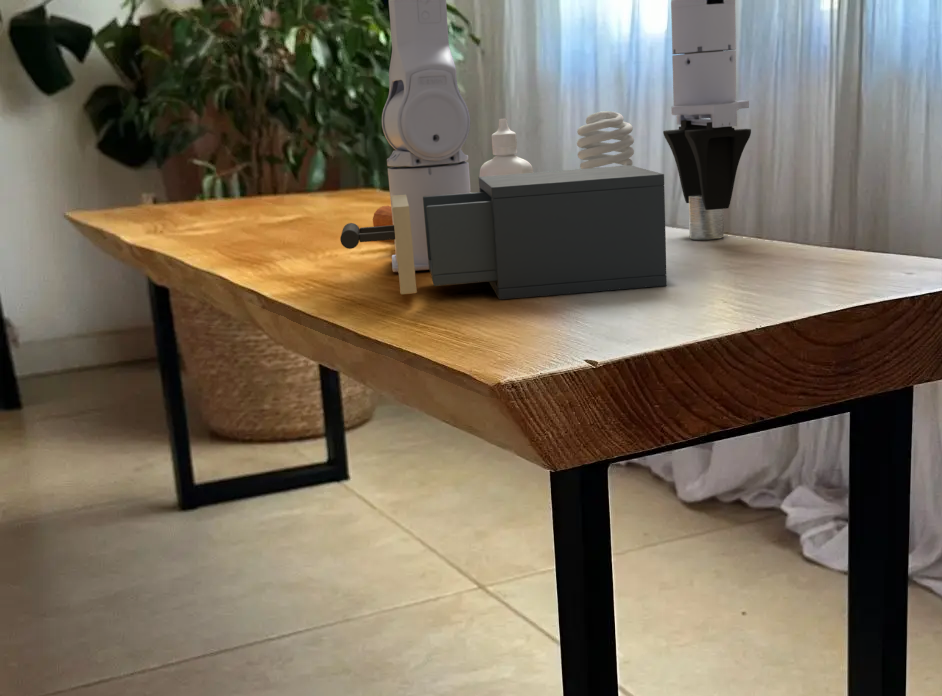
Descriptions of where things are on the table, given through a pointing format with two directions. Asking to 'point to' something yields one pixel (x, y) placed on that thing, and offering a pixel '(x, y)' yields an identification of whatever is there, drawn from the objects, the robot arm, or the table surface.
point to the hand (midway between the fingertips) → (706, 205)
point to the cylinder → (704, 220)
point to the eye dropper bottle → (505, 154)
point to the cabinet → (577, 231)
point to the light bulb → (596, 136)
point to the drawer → (439, 239)
